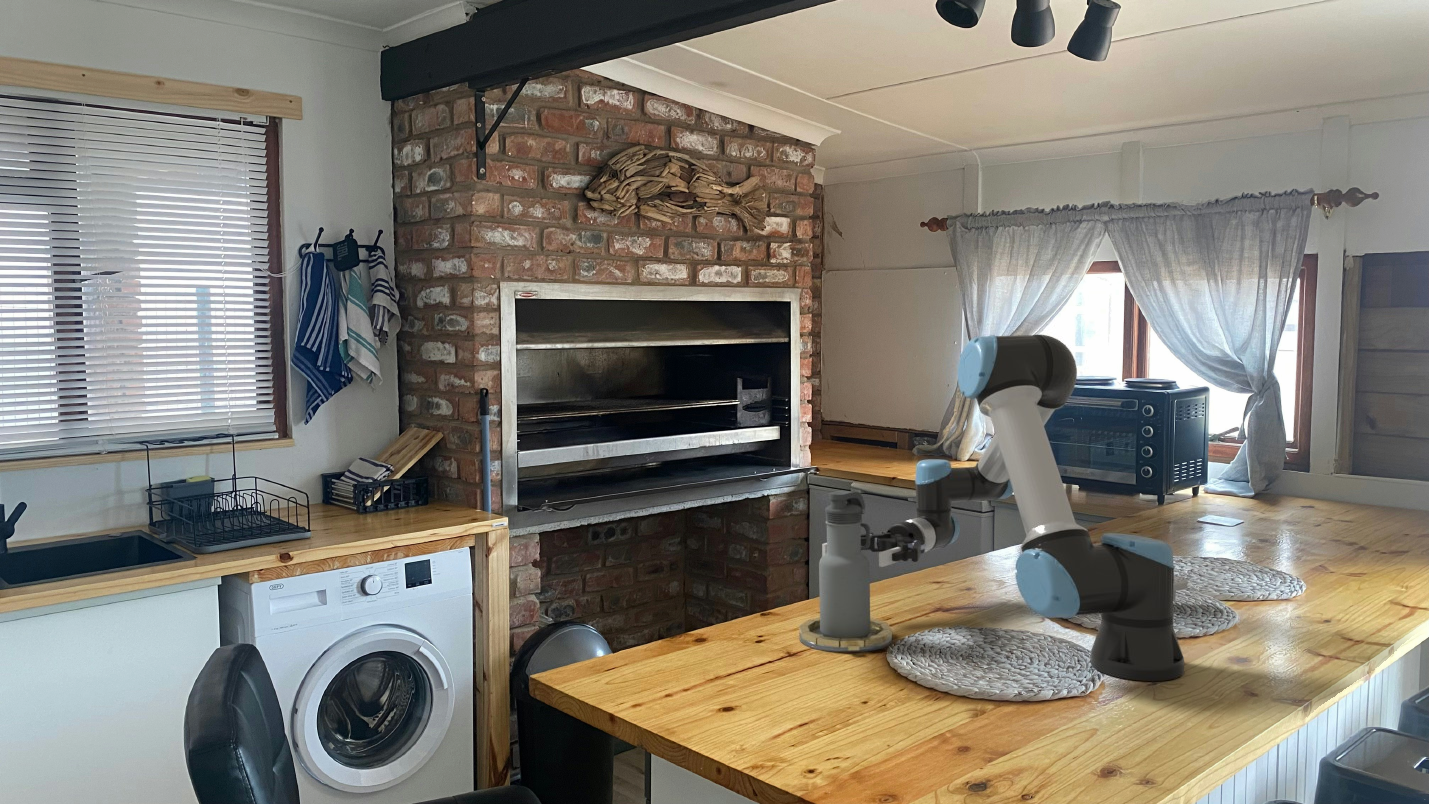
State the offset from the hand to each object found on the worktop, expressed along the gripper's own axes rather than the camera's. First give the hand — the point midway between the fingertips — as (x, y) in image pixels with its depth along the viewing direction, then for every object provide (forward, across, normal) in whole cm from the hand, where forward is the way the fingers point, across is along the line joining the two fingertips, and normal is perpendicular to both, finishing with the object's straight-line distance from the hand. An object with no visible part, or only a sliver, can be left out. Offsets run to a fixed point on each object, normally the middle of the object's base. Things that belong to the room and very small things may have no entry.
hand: (851, 555), depth 200 cm
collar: (+2, 0, -16) cm, 16 cm away
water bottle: (+2, 0, -15) cm, 15 cm away
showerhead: (-58, -39, -16) cm, 72 cm away
